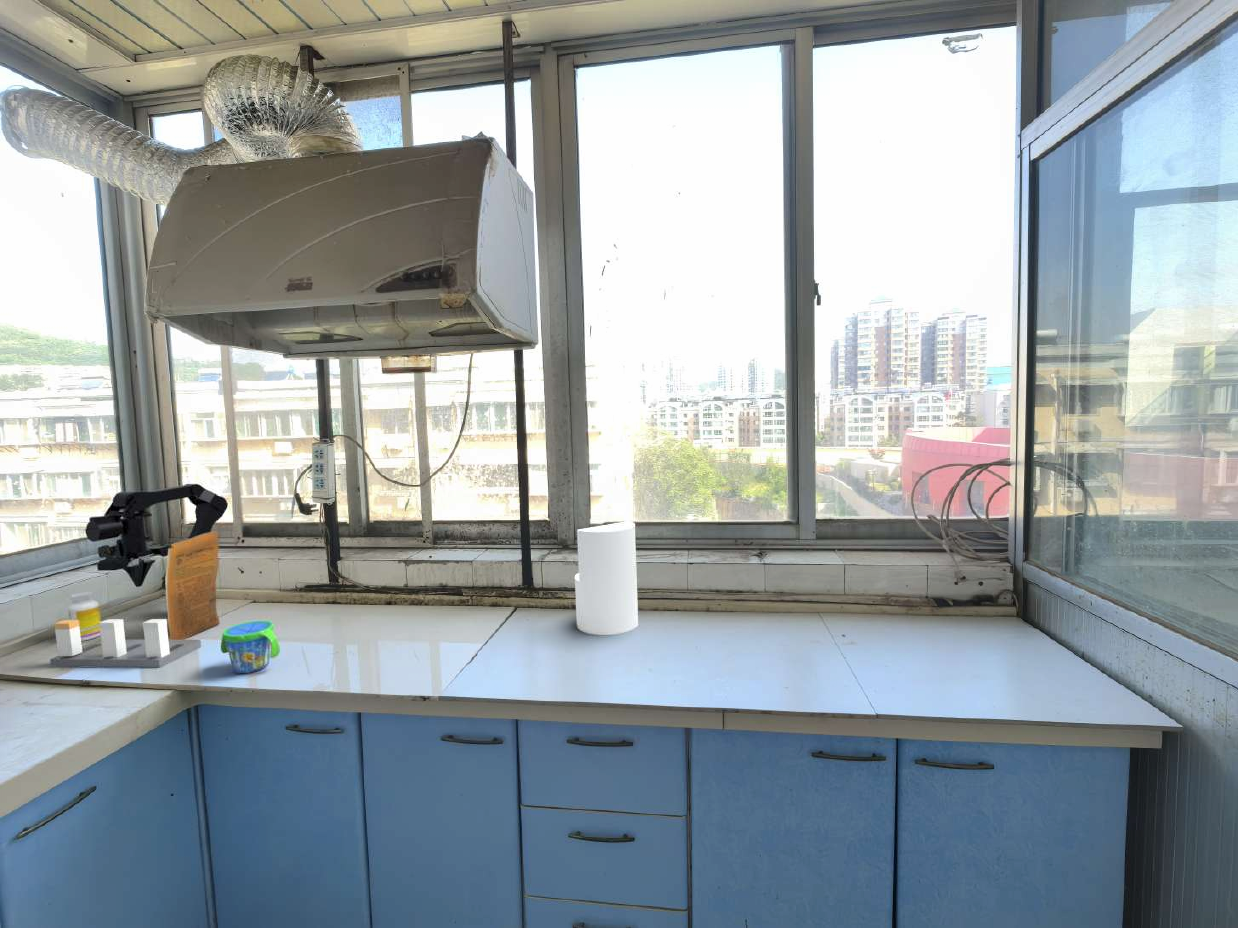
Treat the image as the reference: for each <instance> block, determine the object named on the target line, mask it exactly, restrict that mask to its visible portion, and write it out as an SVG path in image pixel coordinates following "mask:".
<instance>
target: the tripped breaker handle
mask: <svg viewBox="0 0 1238 928" xmlns="http://www.w3.org/2000/svg"><path fill="white" fill-rule="evenodd" d="M53 625H54V626H53V627H54V632H55V640H56V645H57V646H56V647H57V656H74V655H76V654H79V653H81V652H82V646H83V645H82V641H81V636H80V628H79V626H80V625H79V620H69V619H63V620H61V621H57V622H55V623H53Z"/></svg>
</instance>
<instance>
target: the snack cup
mask: <svg viewBox="0 0 1238 928" xmlns="http://www.w3.org/2000/svg"><path fill="white" fill-rule="evenodd" d="M274 627H275V623H273V622H272V621H269V620H252V621H247V622H241V623H237V624H234V625H232V626H230V627H228V628H226V629H225V630H223V632H222V636H221V642H220V651H221V653H223V654H228V657H229V660H230V663H231V666H232V670H233V672H234V673H238V674H243V673H244V674H250V673H253V672H258V671H261V670H263V669H264V668H266V667H267V666H269V663H270V659H274V658H276V657H277V656H279V654H280V651H281V648H280V645H279V640H278V638H277V636H276V634H275V632H274Z"/></svg>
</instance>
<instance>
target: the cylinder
mask: <svg viewBox="0 0 1238 928" xmlns="http://www.w3.org/2000/svg"><path fill="white" fill-rule="evenodd" d="M576 537H577V539H576V540H577V557H578V558H577V559H578V560H577V563H578V573H576V574H575V576H574V591H575V613H576V617H575V618H576V627H577V629H578V630H579V631H581V632H583V633H585V634H590V635H595V636H596V635H597V636H613V635H619V634H625V633H628V632H631V631H633V630H634V629H636V628H637V627H638V625H639V609H638V608H639V607H638V581H637V580H638V579H637V578H638V577H637V548H636V547H637V546H636V523H634V522H632V521H631V520H630V521H622V522H616V523H610V524H606V525H605V524H604V525H598V526H593V527H587V528H580V529H577V530H576Z"/></svg>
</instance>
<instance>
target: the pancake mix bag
mask: <svg viewBox="0 0 1238 928" xmlns="http://www.w3.org/2000/svg"><path fill="white" fill-rule="evenodd" d="M219 541H220V540H219V535H218V532H217V531H214V530H213V531H210V532H208V533H205V534H202V535H198V536H195V537H193V538H191V539H185V540H180V541H177V542H174V543H172V544H170V546H171V548H170V547H169V549H168V556H166V557H167V558H166V568H165V572H166V577H165V585H166V591H165V599H166V606H167V620H168V621H167V623H168V628H169V640H187V639H188V638H191V637H194V636H196V635H197V634H200V633H202V632H204V631H207V630H210V629H211V628H212V629H213V628H214V627H216V626H217V627H218V626H219V625H220V617H219V615H218V612H217V590H216V588H217V587H216V586H217V583H216V580H217V576H218V571H219V570H218V569H219V559H218V558H219V557H218V556H219V555H218V554H219V547H220V545H219V543H220V542H219Z"/></svg>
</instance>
